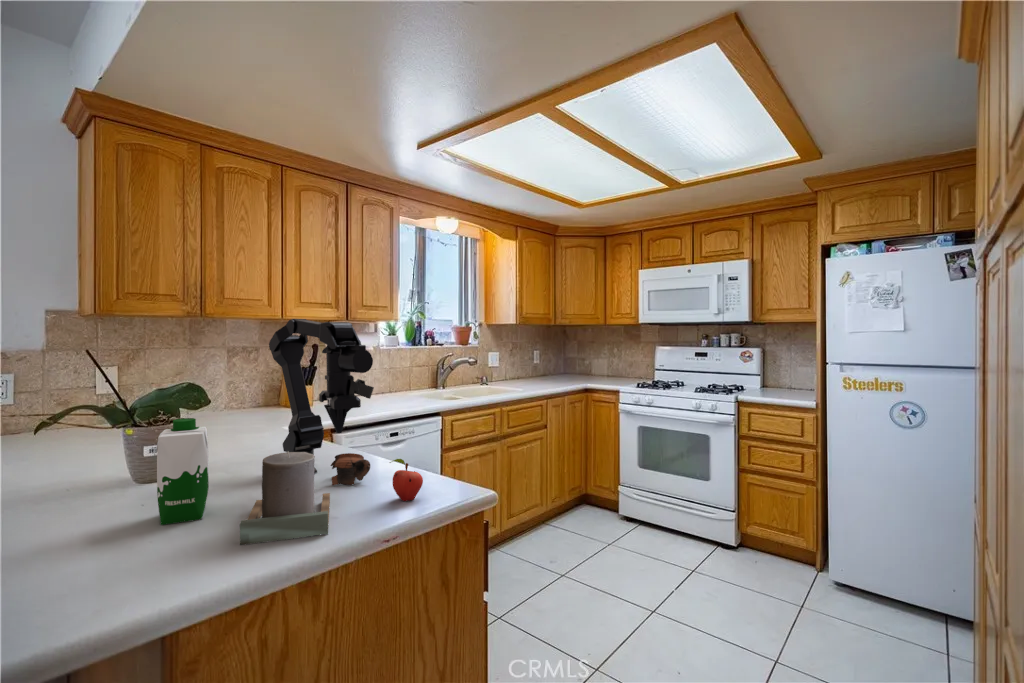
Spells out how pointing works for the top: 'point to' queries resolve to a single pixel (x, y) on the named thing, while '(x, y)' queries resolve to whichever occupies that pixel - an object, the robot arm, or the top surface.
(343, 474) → the pottery mug
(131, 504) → the top surface
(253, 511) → the channel
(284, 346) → the robot arm
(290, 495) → the pillar candle
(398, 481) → the apple
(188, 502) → the milk carton
